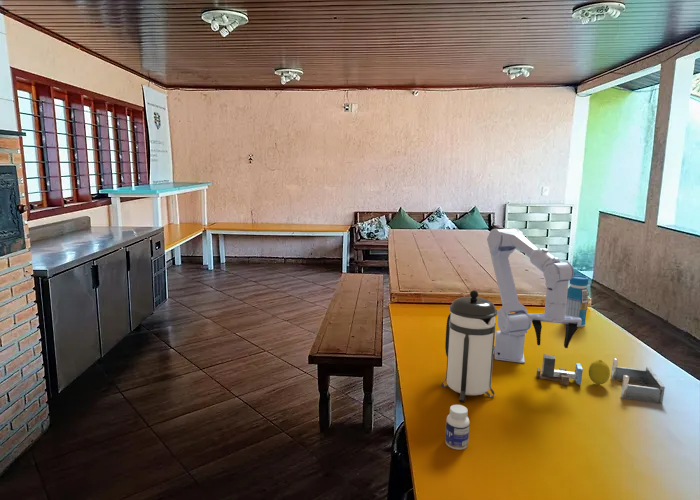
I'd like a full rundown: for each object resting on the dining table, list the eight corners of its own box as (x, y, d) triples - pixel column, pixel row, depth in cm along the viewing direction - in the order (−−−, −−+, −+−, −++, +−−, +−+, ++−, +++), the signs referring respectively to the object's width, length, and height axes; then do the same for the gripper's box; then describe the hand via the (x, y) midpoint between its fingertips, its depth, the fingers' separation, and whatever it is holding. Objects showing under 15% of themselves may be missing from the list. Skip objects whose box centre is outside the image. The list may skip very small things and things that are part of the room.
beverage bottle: (564, 326, 193) (569, 278, 189) (561, 319, 201) (566, 273, 197) (587, 328, 190) (592, 280, 187) (583, 321, 198) (588, 275, 195)
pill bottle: (442, 437, 113) (444, 403, 111) (463, 436, 113) (466, 402, 112) (448, 450, 108) (451, 415, 106) (471, 450, 108) (473, 414, 107)
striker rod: (542, 379, 144) (544, 358, 142) (541, 373, 148) (543, 353, 147) (581, 384, 141) (583, 363, 139) (578, 378, 145) (580, 357, 144)
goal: (621, 398, 134) (624, 376, 132) (610, 377, 147) (612, 357, 145) (662, 404, 131) (666, 382, 130) (647, 382, 144) (650, 362, 143)
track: (537, 381, 143) (538, 373, 143) (535, 372, 149) (536, 365, 149) (570, 385, 141) (570, 377, 140) (566, 376, 147) (567, 369, 146)
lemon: (610, 390, 138) (614, 364, 137) (590, 388, 139) (593, 362, 138) (604, 382, 144) (607, 357, 142) (585, 380, 145) (587, 355, 143)
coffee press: (500, 386, 139) (509, 287, 134) (486, 410, 126) (495, 301, 120) (444, 372, 148) (449, 279, 143) (425, 393, 134) (430, 291, 129)
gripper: (531, 303, 139) (527, 347, 141) (585, 308, 135) (580, 353, 138) (529, 297, 146) (525, 339, 148) (580, 301, 142) (576, 344, 144)
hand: (552, 345), depth 143 cm, fingers open, 7 cm apart
